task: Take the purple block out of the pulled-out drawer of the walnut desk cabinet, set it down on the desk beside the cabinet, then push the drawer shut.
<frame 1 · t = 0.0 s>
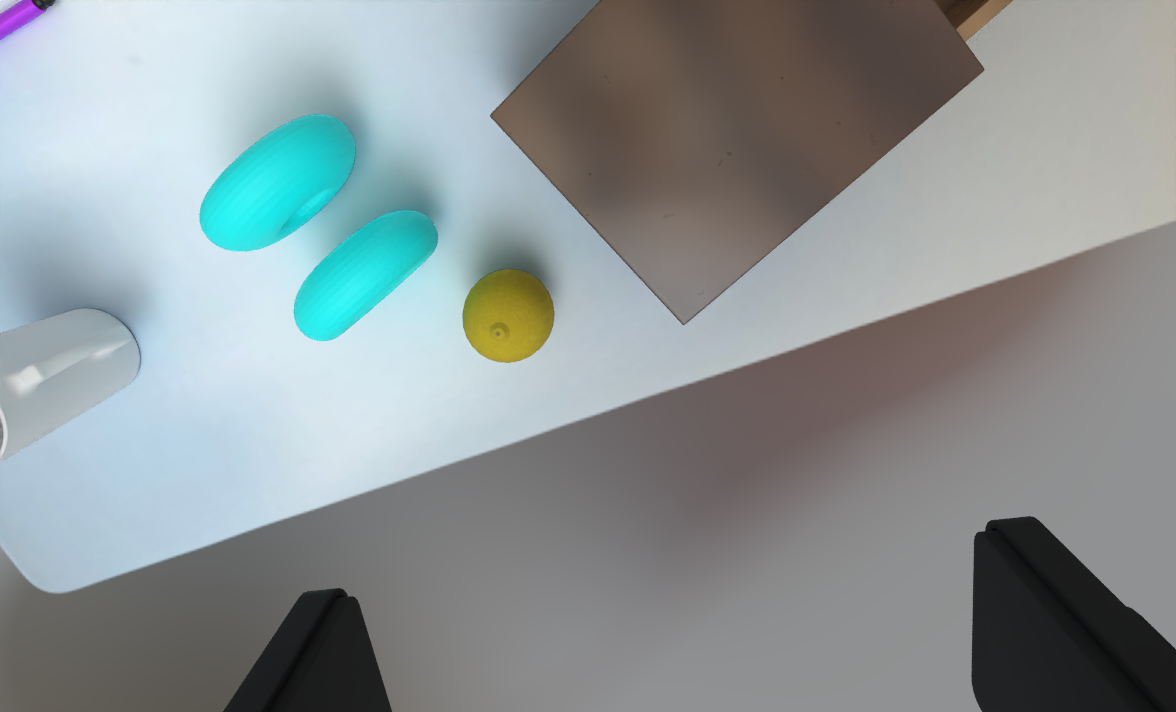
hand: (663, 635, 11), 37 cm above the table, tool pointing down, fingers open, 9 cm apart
desk cabinet: (710, 96, 43), on the table
mug: (117, 339, 50), on the table
lemon: (518, 298, 48), on the table
donuts: (356, 217, 47), on the table
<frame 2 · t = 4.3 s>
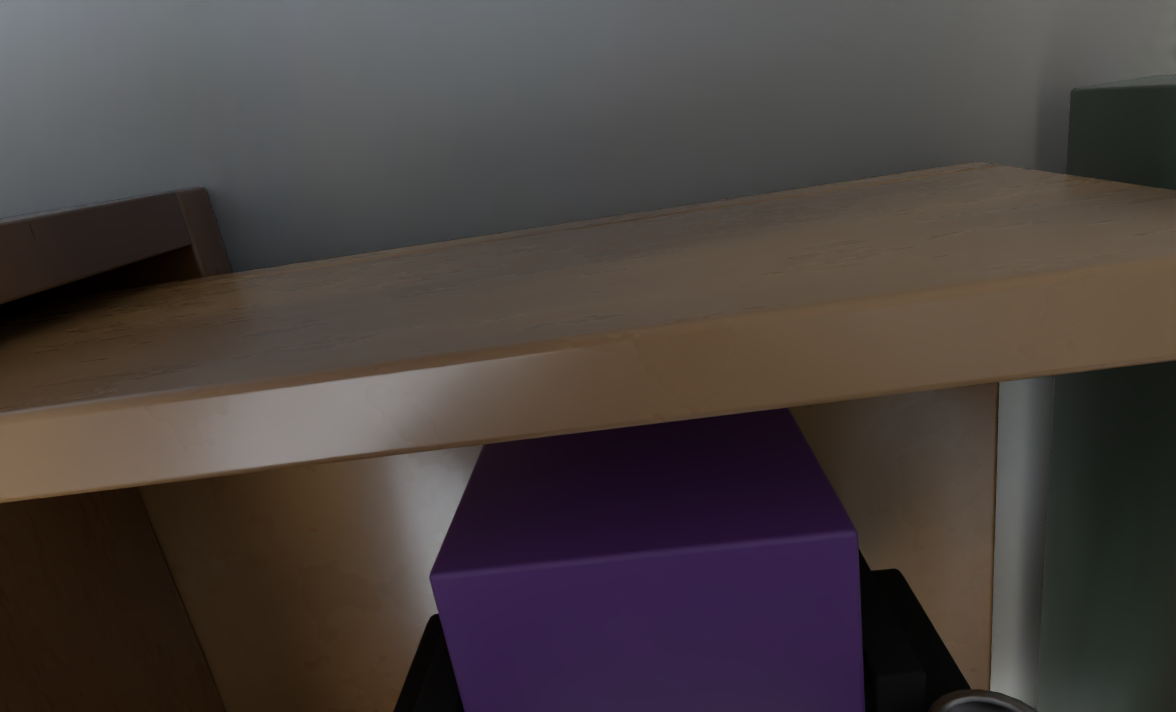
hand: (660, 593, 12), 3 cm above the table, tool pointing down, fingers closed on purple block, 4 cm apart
drawer: (775, 658, 10), point 4 cm above the table, slide at 14.0 cm, touching purple block
purple block: (658, 570, 12), point 2 cm above the table, touching drawer, gripper
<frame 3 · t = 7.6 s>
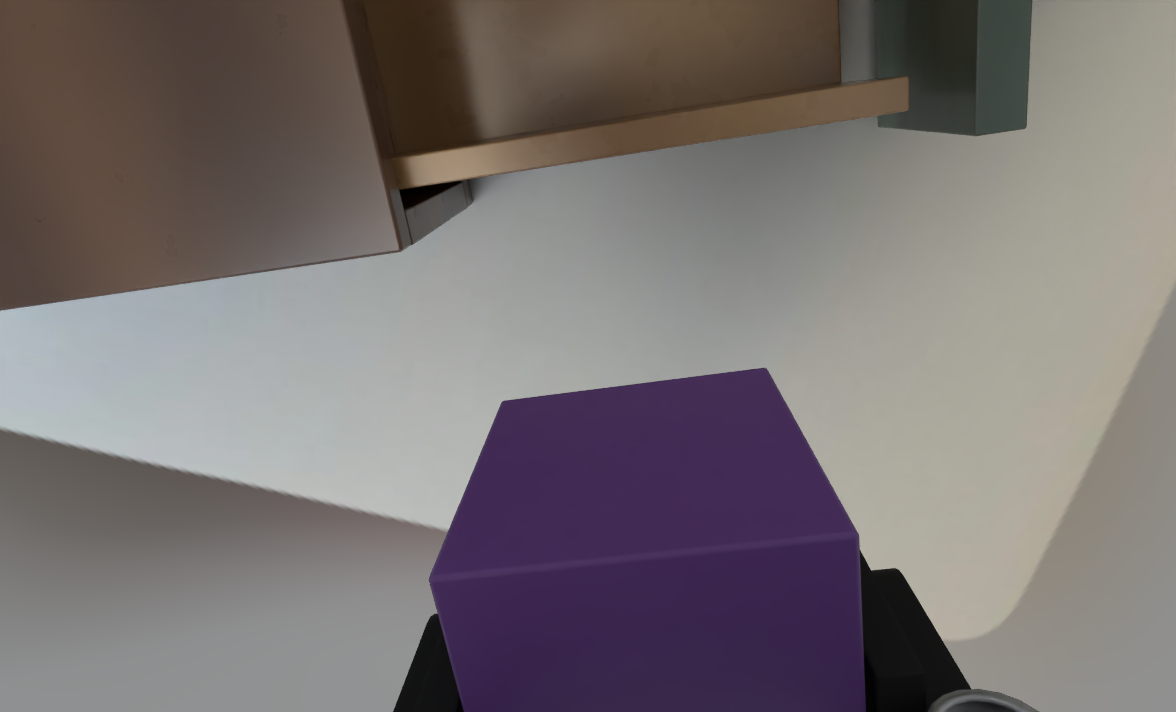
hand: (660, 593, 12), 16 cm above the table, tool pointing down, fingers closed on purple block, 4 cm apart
desk cabinet: (160, 27, 24), on the table
purple block: (658, 571, 12), point 16 cm above the table, touching gripper
when the fingers open (1 cm above the table, at t = 10.9 s): purple block stays where it is, on the table.
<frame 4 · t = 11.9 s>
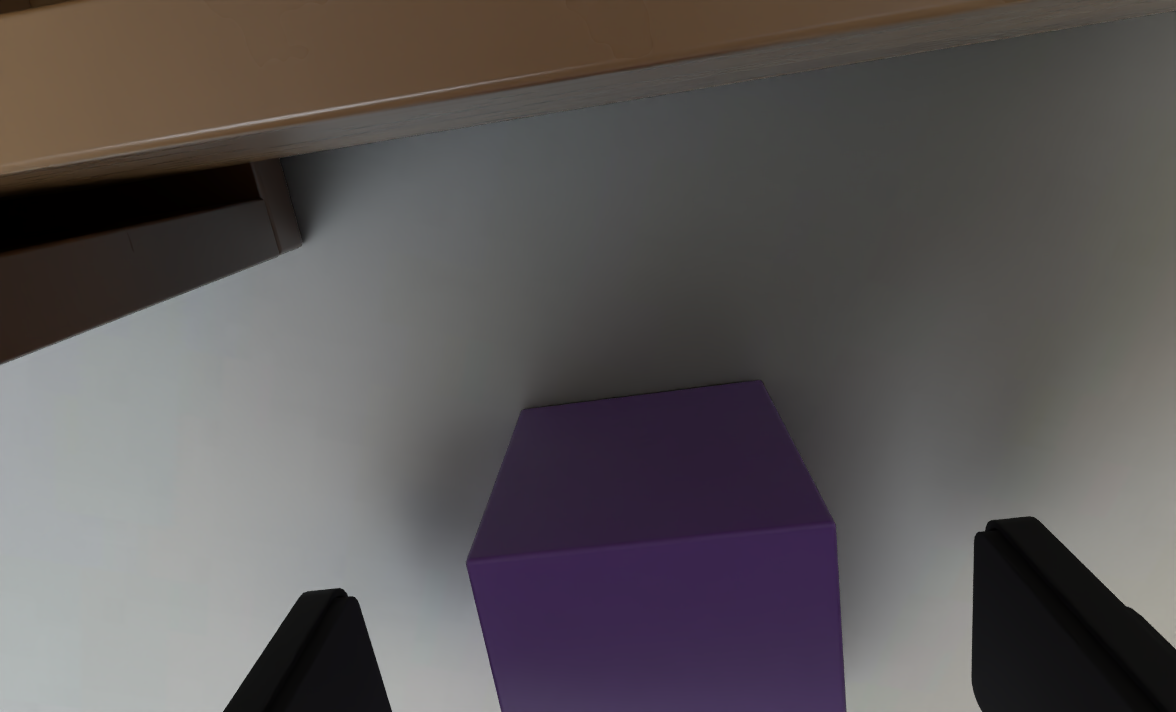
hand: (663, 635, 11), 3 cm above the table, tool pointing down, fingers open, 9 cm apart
purple block: (663, 566, 13), on the table
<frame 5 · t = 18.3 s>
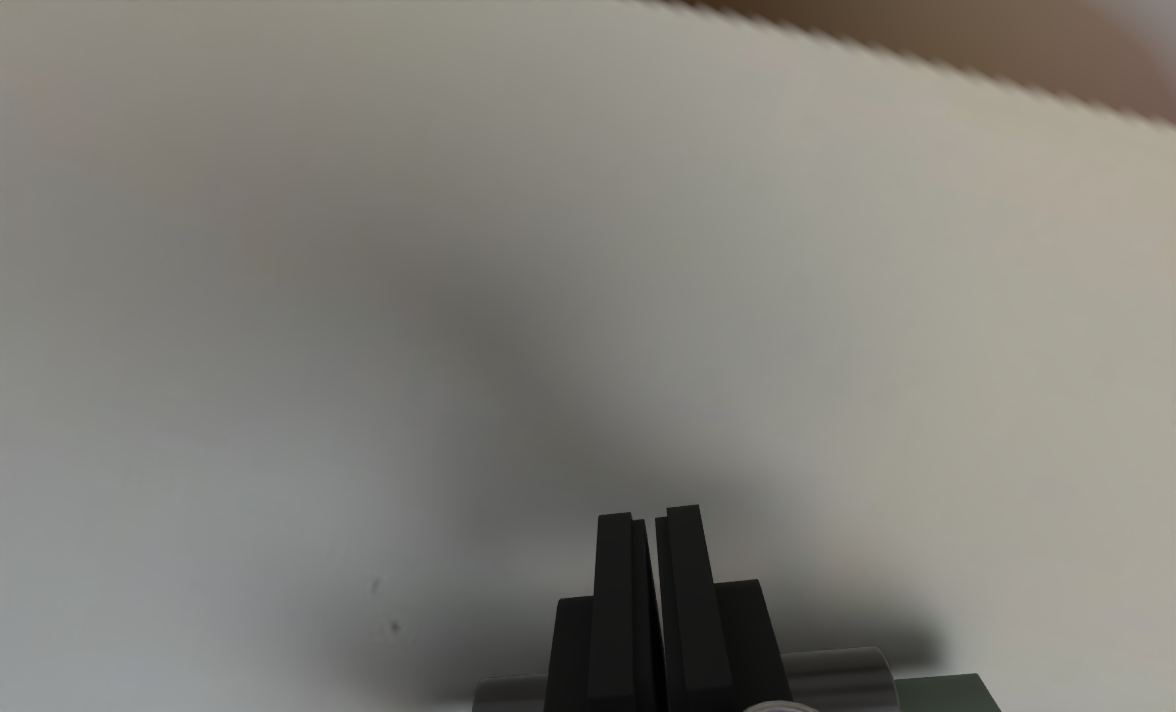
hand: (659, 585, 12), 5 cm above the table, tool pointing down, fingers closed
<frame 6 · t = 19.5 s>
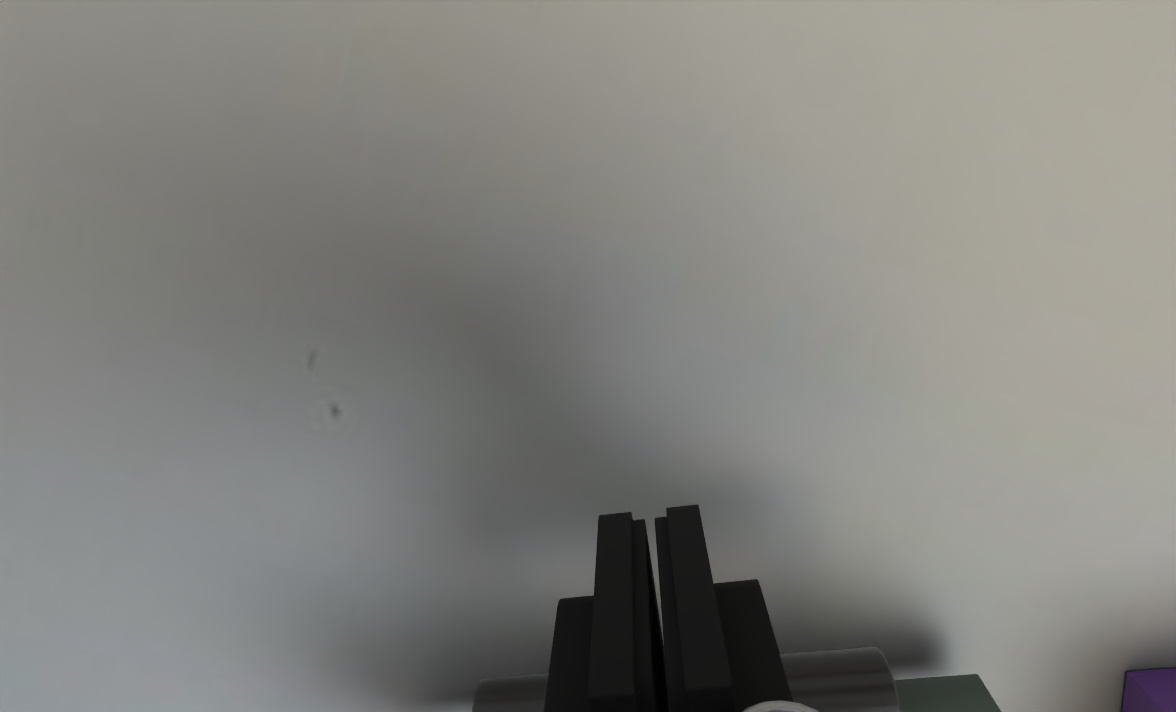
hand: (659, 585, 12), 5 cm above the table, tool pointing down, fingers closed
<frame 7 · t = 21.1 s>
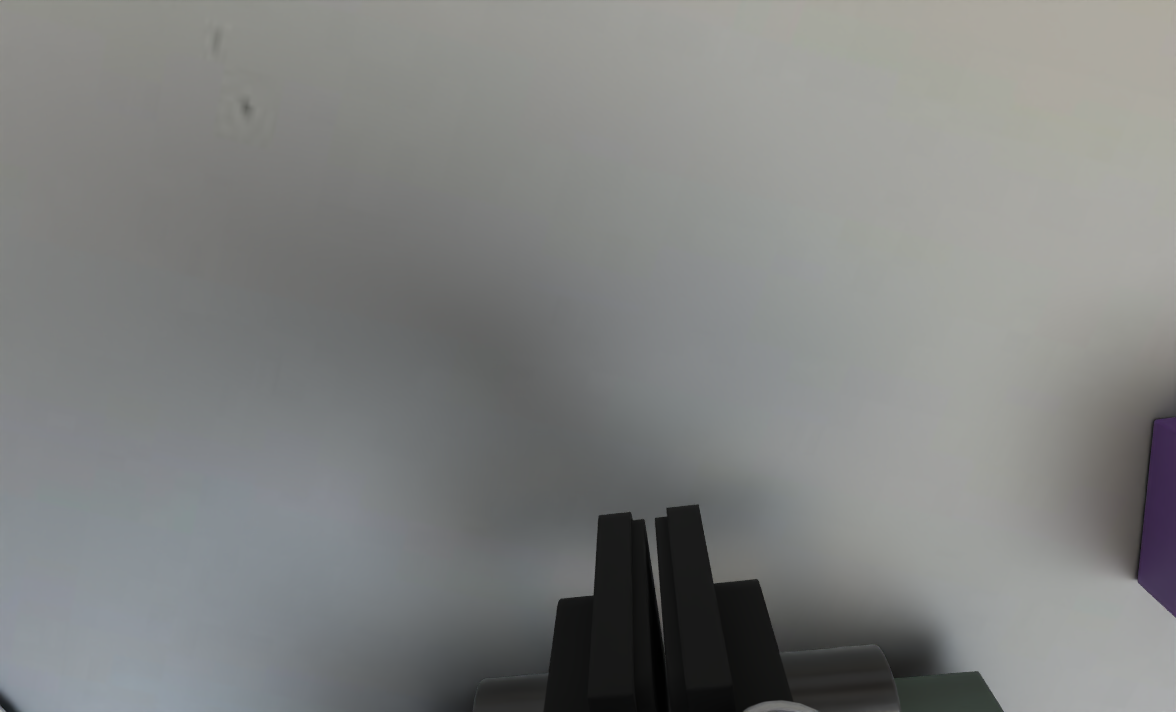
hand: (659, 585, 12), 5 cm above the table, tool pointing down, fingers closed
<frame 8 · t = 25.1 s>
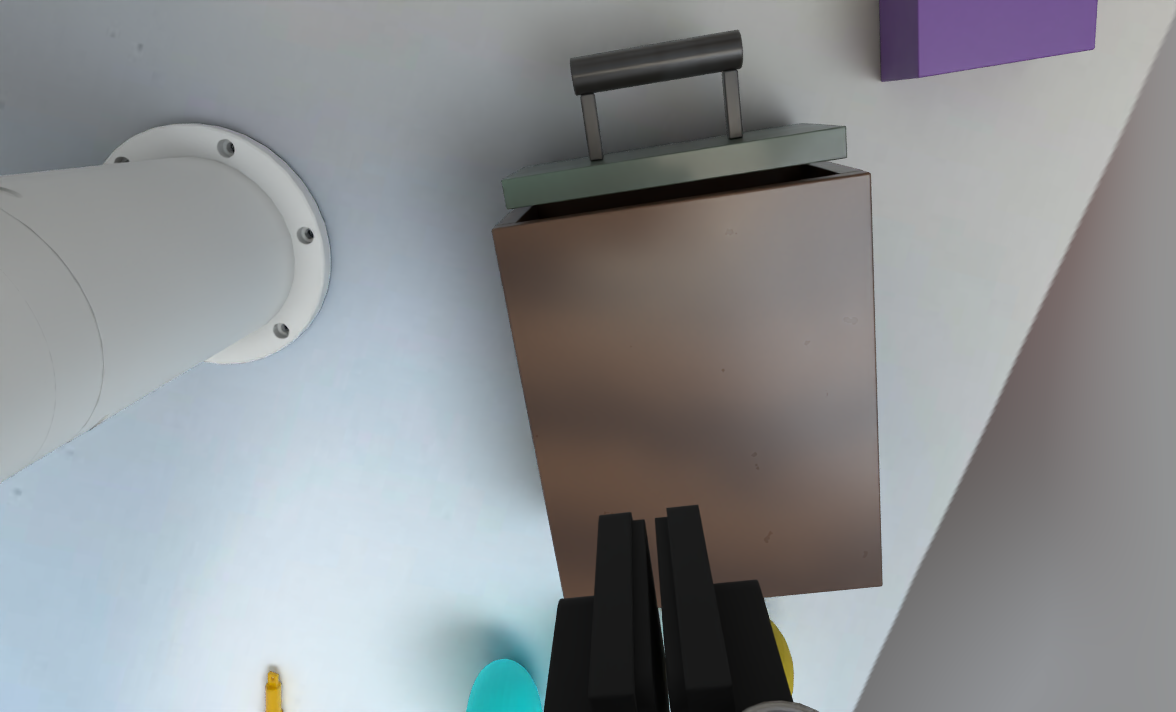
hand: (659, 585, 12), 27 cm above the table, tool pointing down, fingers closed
drawer: (681, 295, 34), point 4 cm above the table, slide at 0.6 cm
desk cabinet: (684, 355, 39), on the table
lemon: (731, 615, 45), on the table
donuts: (568, 681, 47), on the table
purple block: (957, 21, 33), on the table
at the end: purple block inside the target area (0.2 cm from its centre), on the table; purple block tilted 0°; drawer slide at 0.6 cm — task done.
